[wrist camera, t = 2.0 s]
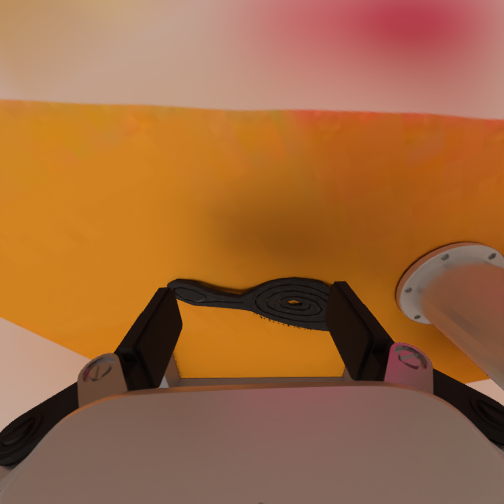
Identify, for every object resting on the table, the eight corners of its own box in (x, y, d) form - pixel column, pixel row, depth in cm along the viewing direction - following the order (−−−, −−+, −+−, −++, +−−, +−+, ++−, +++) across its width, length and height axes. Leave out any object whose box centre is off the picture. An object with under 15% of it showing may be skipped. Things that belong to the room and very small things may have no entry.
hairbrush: (157, 269, 23) (365, 301, 23) (171, 255, 26) (352, 283, 26) (161, 320, 26) (341, 348, 27) (173, 302, 30) (332, 326, 30)
